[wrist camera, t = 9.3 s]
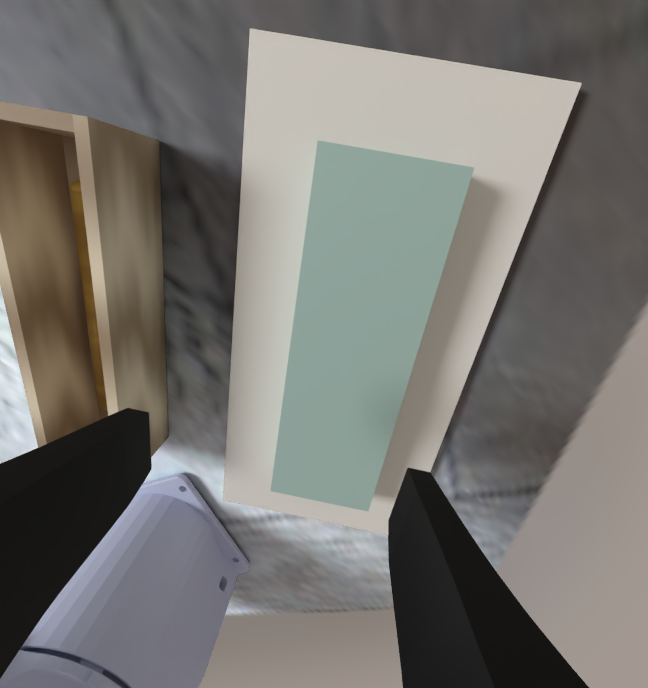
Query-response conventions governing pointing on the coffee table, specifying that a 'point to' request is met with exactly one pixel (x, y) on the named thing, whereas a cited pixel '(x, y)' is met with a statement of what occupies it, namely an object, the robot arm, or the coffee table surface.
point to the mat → (291, 218)
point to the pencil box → (83, 269)
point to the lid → (360, 314)
